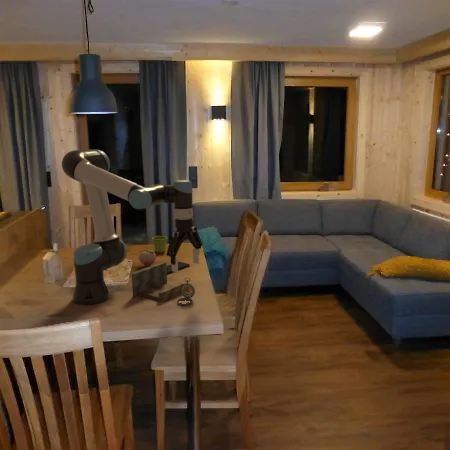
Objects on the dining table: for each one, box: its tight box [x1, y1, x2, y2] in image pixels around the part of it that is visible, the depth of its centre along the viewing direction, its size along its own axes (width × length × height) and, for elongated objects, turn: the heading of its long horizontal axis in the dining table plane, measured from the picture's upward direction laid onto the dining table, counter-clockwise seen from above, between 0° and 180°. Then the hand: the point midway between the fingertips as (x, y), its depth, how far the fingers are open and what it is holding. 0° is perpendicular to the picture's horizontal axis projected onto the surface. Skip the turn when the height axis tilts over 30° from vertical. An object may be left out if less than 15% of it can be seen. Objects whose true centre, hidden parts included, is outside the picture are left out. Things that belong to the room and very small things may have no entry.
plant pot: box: [151, 235, 168, 253], centre depth 256 cm, size 9×9×9 cm
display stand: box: [131, 261, 184, 303], centre depth 188 cm, size 20×15×11 cm
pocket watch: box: [176, 277, 196, 306], centre depth 178 cm, size 8×8×10 cm
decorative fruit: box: [138, 249, 157, 267], centre depth 227 cm, size 9×8×10 cm
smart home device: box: [167, 261, 191, 276], centre depth 222 cm, size 8×2×20 cm
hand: (185, 267), depth 176 cm, fingers open, 13 cm apart
